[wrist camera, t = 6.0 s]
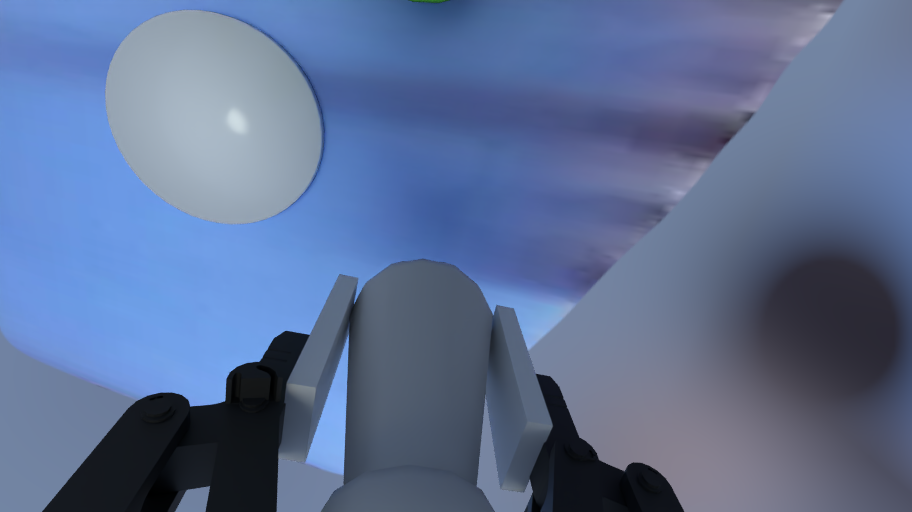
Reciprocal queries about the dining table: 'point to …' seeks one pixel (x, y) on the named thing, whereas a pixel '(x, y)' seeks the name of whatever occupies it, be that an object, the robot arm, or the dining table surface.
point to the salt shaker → (415, 392)
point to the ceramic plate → (214, 116)
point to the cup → (430, 0)
